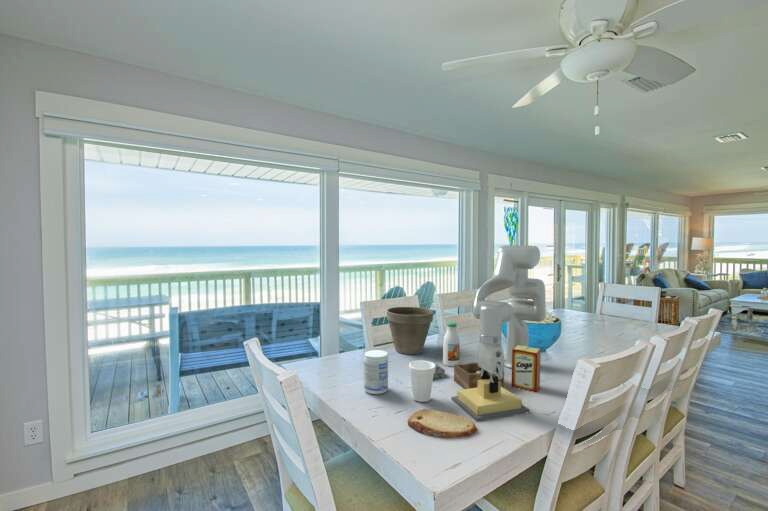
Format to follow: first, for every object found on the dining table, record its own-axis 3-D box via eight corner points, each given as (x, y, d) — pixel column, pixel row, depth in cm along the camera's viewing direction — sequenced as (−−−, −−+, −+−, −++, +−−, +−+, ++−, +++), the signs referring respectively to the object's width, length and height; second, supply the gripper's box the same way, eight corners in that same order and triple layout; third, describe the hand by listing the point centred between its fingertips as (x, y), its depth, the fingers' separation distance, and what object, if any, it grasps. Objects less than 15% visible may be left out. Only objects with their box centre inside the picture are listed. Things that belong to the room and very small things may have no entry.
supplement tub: (383, 396, 138) (383, 358, 137) (360, 393, 140) (360, 355, 140) (390, 386, 147) (391, 351, 146) (368, 383, 150) (369, 348, 149)
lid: (498, 392, 140) (498, 371, 139) (521, 408, 127) (522, 385, 127) (457, 398, 134) (457, 376, 134) (477, 415, 121) (478, 391, 121)
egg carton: (426, 381, 154) (426, 371, 153) (417, 375, 160) (417, 366, 160) (447, 377, 158) (447, 368, 158) (437, 371, 165) (437, 362, 165)
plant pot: (434, 345, 204) (435, 307, 204) (430, 359, 180) (430, 316, 180) (391, 342, 210) (391, 305, 209) (381, 355, 186) (381, 313, 185)
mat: (499, 392, 142) (499, 389, 142) (529, 412, 126) (529, 409, 126) (451, 399, 136) (451, 396, 135) (476, 421, 119) (476, 418, 119)
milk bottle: (441, 365, 172) (441, 323, 171) (444, 360, 179) (445, 320, 178) (457, 367, 169) (458, 325, 168) (460, 362, 176) (461, 321, 175)
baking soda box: (539, 386, 148) (540, 348, 147) (536, 392, 142) (537, 352, 142) (515, 381, 153) (516, 344, 152) (511, 386, 148) (512, 348, 147)
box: (486, 376, 158) (486, 361, 158) (503, 387, 147) (504, 370, 146) (453, 381, 153) (454, 364, 153) (468, 392, 142) (469, 374, 141)
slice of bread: (482, 432, 113) (482, 420, 113) (437, 449, 104) (437, 436, 104) (444, 409, 129) (444, 398, 129) (402, 422, 119) (402, 411, 119)
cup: (428, 407, 129) (428, 371, 128) (403, 401, 134) (403, 366, 133) (439, 397, 137) (440, 363, 137) (416, 391, 143) (416, 358, 142)
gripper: (514, 345, 123) (513, 398, 124) (485, 332, 139) (484, 379, 140) (495, 347, 120) (494, 401, 121) (468, 334, 136) (467, 381, 137)
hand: (489, 389), depth 130 cm, fingers open, 4 cm apart
